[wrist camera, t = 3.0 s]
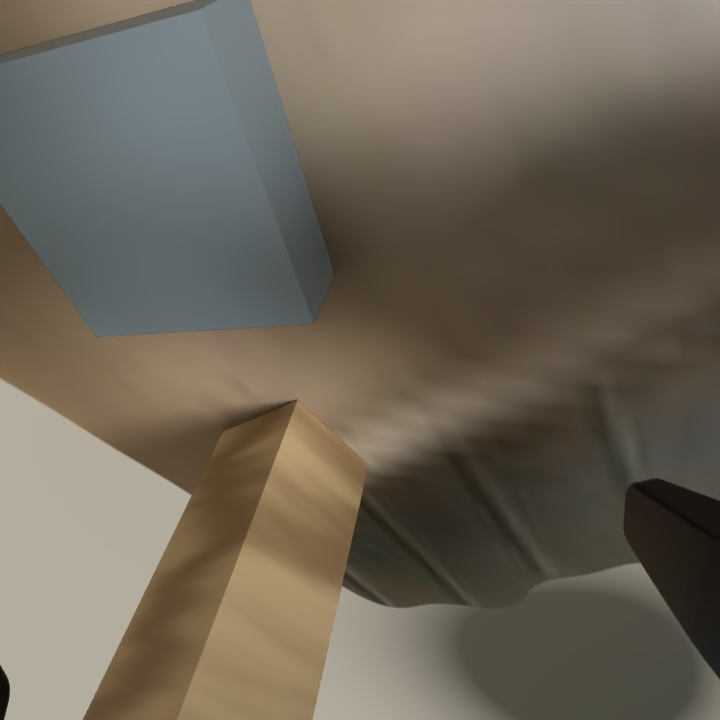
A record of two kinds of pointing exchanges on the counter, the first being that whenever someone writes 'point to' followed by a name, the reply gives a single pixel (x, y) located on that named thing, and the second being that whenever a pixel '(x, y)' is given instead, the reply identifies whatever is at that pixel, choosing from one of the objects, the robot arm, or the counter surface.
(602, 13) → the counter surface
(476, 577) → the counter surface
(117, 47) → the slate base block
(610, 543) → the counter surface
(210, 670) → the oak pillar
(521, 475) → the counter surface
